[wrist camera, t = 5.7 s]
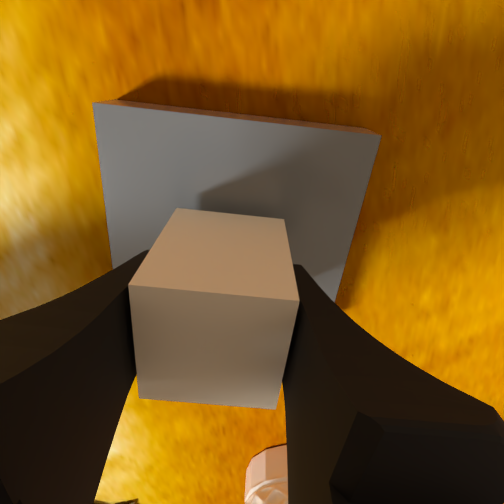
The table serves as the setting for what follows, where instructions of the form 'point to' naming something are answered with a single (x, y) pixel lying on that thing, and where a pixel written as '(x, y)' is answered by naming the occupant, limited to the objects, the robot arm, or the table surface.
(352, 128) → the slate tile
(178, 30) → the table surface
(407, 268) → the table surface
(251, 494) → the white cup
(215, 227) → the cream block
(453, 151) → the table surface
